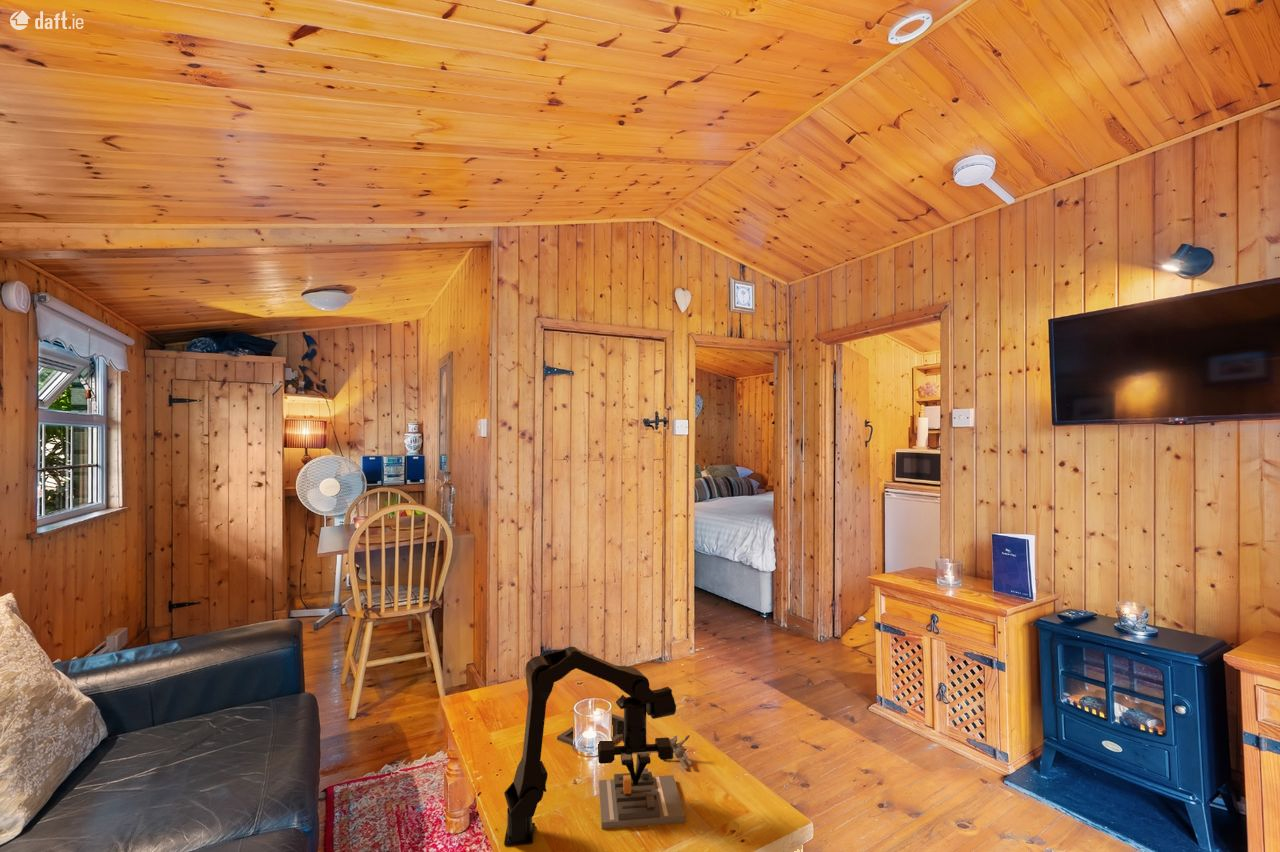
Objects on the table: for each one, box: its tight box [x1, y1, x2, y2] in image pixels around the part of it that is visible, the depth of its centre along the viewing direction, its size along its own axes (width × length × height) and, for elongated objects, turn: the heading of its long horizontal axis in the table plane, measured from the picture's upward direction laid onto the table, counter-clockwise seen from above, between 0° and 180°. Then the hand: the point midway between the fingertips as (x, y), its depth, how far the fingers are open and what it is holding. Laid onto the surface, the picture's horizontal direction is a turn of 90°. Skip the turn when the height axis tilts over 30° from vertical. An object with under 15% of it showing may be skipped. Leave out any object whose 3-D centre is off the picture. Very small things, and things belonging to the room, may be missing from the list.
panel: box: [598, 767, 686, 830], centre depth 146 cm, size 17×20×4 cm
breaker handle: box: [623, 775, 631, 794], centre depth 145 cm, size 2×2×3 cm
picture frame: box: [556, 713, 624, 747], centre depth 181 cm, size 16×2×21 cm
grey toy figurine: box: [669, 734, 693, 771], centre depth 164 cm, size 10×6×9 cm
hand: (635, 784), depth 146 cm, fingers closed
